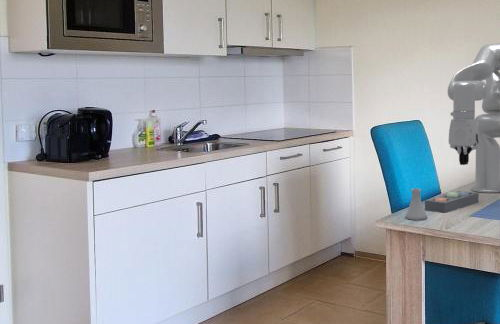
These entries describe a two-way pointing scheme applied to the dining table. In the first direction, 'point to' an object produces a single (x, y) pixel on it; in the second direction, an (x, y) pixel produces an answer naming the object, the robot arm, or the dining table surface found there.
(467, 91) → the robot arm
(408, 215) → the flask
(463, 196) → the console
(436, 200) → the terracotta button
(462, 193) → the slate button
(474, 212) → the dining table surface
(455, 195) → the sage button
